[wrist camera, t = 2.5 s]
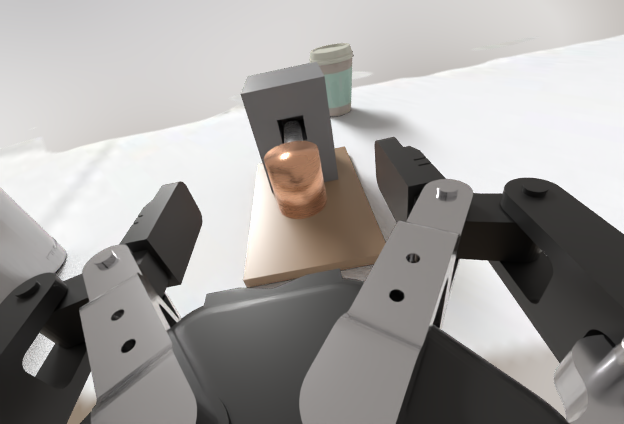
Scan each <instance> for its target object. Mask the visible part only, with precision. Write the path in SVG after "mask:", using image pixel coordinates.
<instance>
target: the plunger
mask: <svg viewBox="0 0 624 424" xmlns="http://www.w3.org/2000/svg"><path fill="white" fill-rule="evenodd" d="M264 162H265V166H266V169H267V172H268V175H269V178H270V181H271V185H272V188H273V191H274V194H275V197H276V201H277V204H278V207H279V210H280V212H281V214H282V215H284V216H285V217H288V218H291V219H303V218H308V217H311V216H313V215H315V214H317V213H319V212H320V211H321V210H322V209H323V208H324V207H325V206H326V203H327V196H326V191H325V185H324V179H323V173H322V168H321V162H320V156H319V151H318V147H317V145H316V144H314V143H312V142H309V141H303V138H302V131H301V126H300V124H299V123H298V122H297V121H295V120H289V121H287V122H286V123H285V125H284V144H281V145H279V146H276V147H274V148H273V149H271V150H270V151H269V152H267V153H266V155H265V157H264Z"/></svg>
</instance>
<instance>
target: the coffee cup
mask: <svg viewBox="0 0 624 424" xmlns="http://www.w3.org/2000/svg"><path fill="white" fill-rule="evenodd" d="M353 56H354V55H353V51H352V50H351V47H350V44H348V43H339V44H332V45H326V46H322V47H319V48H316V49H314V50H312V51H311V52H310V59H309V61H310V63H313V62H317V63H318V65H319V67H320V69H321V71H322V72H323V74H324V76H325V83H326V90H327V98H328V105H329V113H330V116H331V117H333V116H341V115H344V114H346V113H348V112H350V110H351V86H352V57H353Z"/></svg>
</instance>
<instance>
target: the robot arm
mask: <svg viewBox="0 0 624 424" xmlns="http://www.w3.org/2000/svg"><path fill="white" fill-rule="evenodd" d="M375 163H376V178H377V183H378V187H379V189H380V191H381V193H382V195H383V197H384V199H385V201H386V203H387V205H388V207H389V209H390V210H391V212H392V214H393V216H394V218H395V220H396V222H397V224H396V225H395V227H394V229H393V231H392V233H391V235H390V236H389V238H388V240H387V242H386V244H385V245H384V247H383V249H382V251H381V253H380V255H379V256H378V258H377V260H376V262H375V264H374V266H373V267H372V269H371V271H370V273H369V275H368V277H367V278H366V280H365V282H364V281H360V280H355V279H346V278H342V275H341V271H340V268H339V269H333V270H328V271H323V272H318V273H313V274H307V275H305V276H302V277H300V278H297V279H295V280H293V281H290V282H288V283H285V284H283V285H281V286H278V287H276V288H272V289H263V288H235V289H230V290H225V291H219V292H214V293H209V294H207V295H206V299H205V303H204V306H202V307H200V308H198V309H196V310H194V311H192V312H191V313H189V314H187V315H186V316H185V317H183V318H181V316H180V315H179V313H178V311H177V310H176V308H175V306H174V305H173V303H172V301H171V299H170V298H169V296H168V295H167V294H166V293H165V290H166V288H167V287H171V286H176V285H181V283H182V280H183V277H184V274H185V271H186V269H187V266H188V263H189V260H190V257H191V254H192V251H193V249H194V246H195V243H196V240H197V237H198V234H199V232H200V229H201V226H202V215H201V212H200V210H199V208H198V206H197V205H196V203H195V201H194V199H193V197H192V195H191V193H190V192H189V190H188V188H187V186H186V185H185V184H184V183H183V182H176V183H171V184H166V185H163V186H162V187H161V188H160V190H159V191H158V193H157V194H156V196H155V197H154V199H153V200H152V201H151V202H150V203H148V204H147V205H146V206H145V207H144V208H143V209H142V211H141V212H140V214H139V215H138V218H136V220H135V221H134V225H132V226H131V227H130V229H129V231H128V232H127V234H126V235H125V237H124V238H123V240H122V241H121V243H120V244H119V245H115V246H111V247H109V248H106V249H104V250H102V251H101V252H99V253H97V254H96V255H95V256H93V257H92V258H91V259H90V260H89V261H88V262H87V263H86V265H85V266H84V268H83V271H82V274H80V275H78V276H75V277H73V278H70V279H68V280H66V281H62V280H61V279H60V278H59V277H57V276H56V275H55V274H54V273H55V272H56V271H57V270H58V269H59V268H60V267H61V265H62V264H63V262H64V260H65V258H66V251H65V249H64V248H63V247H61V246H60V245H59V244H58V243H57V241H56V240H55V239H54V238H53V237H51V236H50V235H49V234H48V233H47V232H46V231H45V230H44V229H43V228H42V227H41V226H40V225H39V224H38V223H37V222H36V221H35V220H34V219H33V218H31V217H30V216H29V215H28V214H27V213H26V212H25V211H24V210H23V209H22V208H21V207H20V206H19V205H18V204H17V203H16V202H15V201H14V200H13V199H12V198H11V197H10V196H9V195H8V194H6V193H5V192H4V191H3V190H2V189H1V188H0V424H67V422H68V419H69V417H70V415H71V413H72V411H73V409H74V406H75V404H76V402H77V400H78V398H79V396H80V393H81V391H82V389H83V387H84V385H85V383H86V380H87V378H88V376H89V374H90V372H92V377H93V382H94V387H95V392H96V397H97V402H96V405H95V406H94V407H93V409H92V411H91V412H90V413H89V414H88V415H87V417H86V418H85V419H84V420H83V421H82V422H81V423H80V424H624V234H623V233H621V232H620V231H619V230H617V229H616V228H614V227H613V226H612V225H610V224H609V223H608V222H606V221H605V220H604V219H602V218H601V217H600V216H598V215H597V214H596V213H594V212H593V211H592V210H590V209H589V208H588V207H586V206H585V205H584V204H582V203H581V202H580V201H578V200H577V199H576V198H574V197H573V196H572V195H570V194H569V193H568V192H566V191H565V190H564V189H562V188H561V187H559V186H558V185H556V184H554V183H552V182H549V181H546V180H542V179H537V178H518V179H514V180H511V181H509V182H508V183H507V184H506V185H505V187H504V191H503V194H479V193H473V190H472V189H471V187H470V186H468V185H467V184H465V183H463V182H461V181H457V180H452V179H446V178H445V177H444V176H443V175H442V174H441V173H440V172H439V171H438V170H437V169H436V168H435V166H434V165H433V164H431V162H430V161H429V160H428V159H427V158H426V157H425V156H424V155H423V153H422V152H421V151H420V150H417V149H415V148H413V147H411V146H407V147H403V146H402V145H401V144H400V143H399V142H398V140H397V139H396V138H395V137H391V138H386V139H382V140H377V141H375ZM545 254H546V255H547V256H546V255H545ZM460 259H473V260H488V261H489V263H490V264H491V265H492V267H493V268H494V270H495V271H496V273H497V274H498V275H499V277H500V278H501V280H502V281H503V283H504V284H505V285H506V287H507V288H508V290H509V291H510V293H511V294H512V295H513V297H514V298H515V300H516V301H517V303H518V304H519V306H520V307H521V308H522V310H523V311H524V313H525V314H526V316H527V317H528V318H529V320H530V321H531V323H532V324H533V326H534V327H535V328H536V330H537V331H538V333H539V334H540V336H541V337H542V338H543V340H544V341H545V343H546V344H547V346H548V347H549V348H550V350H551V351H552V353H553V354H554V356H555V357H556V358H557V360H558V361H559V363H560V364H559V366H558V367H557V368H556V371H555V373H554V383H555V387H556V390H557V392H558V394H559V396H560V398H561V400H562V402H563V405H564V408H565V412H566V419H565V418H564V417H563V416H562V415H561V414H560V413H559V412H558V411H557V410H555V409H554V408H553V407H552V406H551V405H550V404H548V403H547V402H546V401H544V400H543V399H542V398H540V397H539V396H538V395H536V394H535V393H533V392H532V391H530V390H529V389H527V388H526V387H525V386H523V385H522V384H520V383H519V382H517V381H516V380H514V379H513V378H511V377H510V376H508V375H507V374H505V373H504V372H503V371H501V370H500V369H498V368H497V367H495V366H494V365H492V364H491V363H489V362H488V361H486V360H485V359H483V358H482V357H481V356H479V355H478V354H476V353H475V352H473V351H472V350H470V349H469V348H467V347H466V346H464V345H463V344H461V343H460V342H459V341H457V340H456V339H454V338H453V337H451V336H450V335H448V334H447V333H445V332H444V331H442V330H441V327H442V323H443V320H444V315H445V311H446V307H447V303H448V299H449V296H450V292H451V289H452V286H453V282H454V279H455V275H456V272H457V268H458V265H459V261H460ZM39 332H40V333H41V334H42V335H44V336H45V337H47V338H48V339H50V340H51V341H53V342H54V343H55V345H54V346H53V348H52V350H51V351H50V353H49V355H48V356H47V358H46V360H45V361H44V363H43V365H42V366H41V368H40V370H39V371H38V373H37V375H36V376H35V377H34V376H32V375H30V374H28V373H27V372H25V370H24V369H23V365H22V361H23V357H24V355H25V353H26V352H27V350H28V349H29V347H30V346H31V344H32V343H33V341H34V340H35V338H36V337H37V335H38V334H39Z"/></svg>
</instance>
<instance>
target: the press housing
mask: <svg viewBox="0 0 624 424" xmlns="http://www.w3.org/2000/svg"><path fill="white" fill-rule="evenodd" d="M241 97H242V100H243V103H244V106H245V109H246V112H247V116H248V119H249V122H250V125H251V128H252V131H253V134H254V137H255V141H256V144H257V147H258V150H259V153H260V156H261V159H262V163H261V164H258V168H257V175H256V183H255V191H254V199H253V207H252V215H251V222H250V230H249V238H248V246H247V254H246V262H245V269H244V277H243V281H244V283H245V285H246V287H247V288H248V287H254V286H259V285H265V284H270V283H275V282H281V281H286V280H291V279H297V278H300V277H302V276H305V275H307V274H313V273H318V272H323V271H328V270H333V269H339V268H340V270H345V269H350V268H356V267H361V266H366V265H372V264H375V262H376V260H377V258H378V256H379V255H380V253H381V251H382V249H383V247H384V245H385V244H386V242H385V240H384V237H383V235H382V233H381V230H380V228H379V226H378V223H377V221H376V219H375V216H374V214H373V212H372V209H371V207H370V205H369V202H368V200H367V197H366V195H365V193H364V190H363V188H362V186H361V183H360V181H359V179H358V176H357V174H356V172H355V169H354V167H353V165H352V162H351V160H350V158H349V155H348V153H347V151H346V148H345V147H340V148H335V149H334V142H333V135H332V127H331V120H330V113H329V105H328V98H327V90H326V83H325V76H324V74H323V72H322V71H321V69H320V67H319V65H318V63H317V62H313V63H308V64H303V65H299V66H294V67H289V68H284V69H280V70H275V71H270V72H266V73H261V74H256V75H252V76H248V77H247V79H246V82H245V84H244V87H243V89H242V92H241ZM289 120H295V121H297V122H298V123H299V124H300V126H301V131H302V138H303V141H309V142H312V143H314V144H316V145H317V147H318V151H319V156H320V162H321V168H322V173H323V179H324V185H325V191H326V196H327V203H326V206H325V207H324V208H323V209H322V210H321V211H320V212H319V213H317V214H315V215H313V216H311V217H308V218H303V219H291V218H288V217H285V216H284V215H282V214H281V212H280V210H279V207H278V204H277V201H276V197H275V194H274V191H273V188H272V185H271V181H270V178H269V175H268V172H267V169H266V166H265V162H264V157H265V155H266V153H267V152H269V151H270V150H271V149H273V148H274V147H276V146H279V145H281V144H284V125H285V123H286V122H287V121H289Z"/></svg>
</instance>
